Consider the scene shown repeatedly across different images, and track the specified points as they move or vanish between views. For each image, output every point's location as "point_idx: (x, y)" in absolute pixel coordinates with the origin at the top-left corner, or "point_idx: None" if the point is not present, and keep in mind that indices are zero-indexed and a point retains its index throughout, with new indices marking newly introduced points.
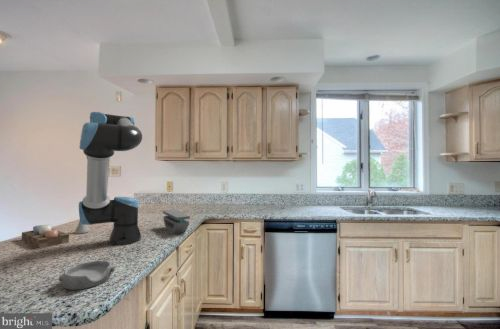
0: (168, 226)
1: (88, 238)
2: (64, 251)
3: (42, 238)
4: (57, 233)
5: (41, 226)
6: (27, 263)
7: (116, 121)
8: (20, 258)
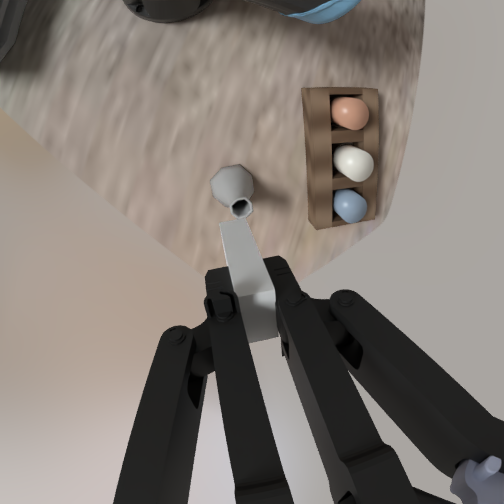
0: (12, 19)
1: (245, 85)
2: None
3: (369, 100)
4: (339, 102)
5: (369, 162)
6: (399, 4)
7: None
8: (403, 46)
